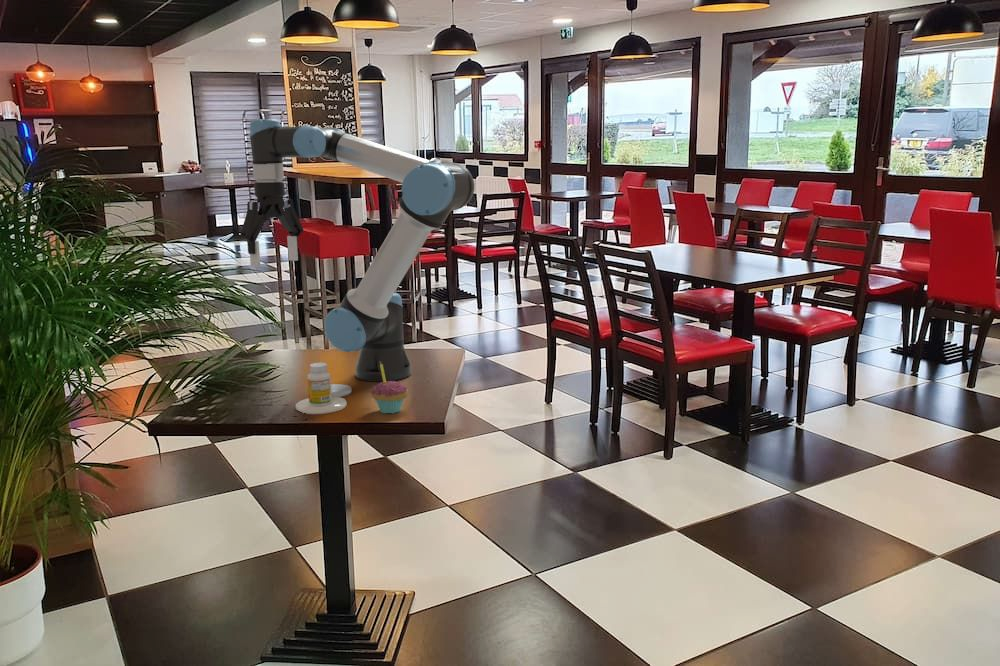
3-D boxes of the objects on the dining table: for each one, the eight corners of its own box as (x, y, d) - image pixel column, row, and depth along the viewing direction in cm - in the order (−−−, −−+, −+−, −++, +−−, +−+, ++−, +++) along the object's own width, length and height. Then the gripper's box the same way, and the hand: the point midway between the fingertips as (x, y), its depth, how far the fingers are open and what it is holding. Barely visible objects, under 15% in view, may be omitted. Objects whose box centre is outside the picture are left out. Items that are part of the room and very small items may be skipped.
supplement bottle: (313, 399, 199) (311, 361, 197) (335, 400, 198) (332, 361, 196) (306, 406, 194) (303, 367, 192) (327, 406, 193) (325, 367, 191)
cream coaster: (336, 396, 204) (336, 393, 204) (353, 408, 194) (353, 405, 194) (289, 404, 198) (289, 401, 198) (304, 417, 188) (304, 414, 188)
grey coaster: (343, 385, 214) (343, 382, 214) (357, 394, 206) (357, 391, 206) (306, 391, 209) (306, 388, 209) (318, 400, 201) (318, 397, 201)
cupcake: (368, 415, 189) (365, 365, 186) (378, 404, 197) (375, 356, 195) (403, 416, 188) (401, 366, 185) (412, 405, 196) (410, 357, 193)
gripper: (292, 179, 221) (297, 257, 226) (220, 183, 200) (228, 268, 205) (313, 179, 217) (318, 258, 222) (242, 183, 196) (249, 270, 201)
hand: (275, 263), depth 213 cm, fingers open, 13 cm apart
